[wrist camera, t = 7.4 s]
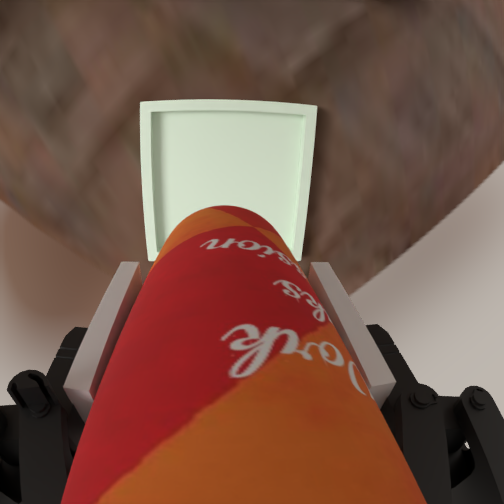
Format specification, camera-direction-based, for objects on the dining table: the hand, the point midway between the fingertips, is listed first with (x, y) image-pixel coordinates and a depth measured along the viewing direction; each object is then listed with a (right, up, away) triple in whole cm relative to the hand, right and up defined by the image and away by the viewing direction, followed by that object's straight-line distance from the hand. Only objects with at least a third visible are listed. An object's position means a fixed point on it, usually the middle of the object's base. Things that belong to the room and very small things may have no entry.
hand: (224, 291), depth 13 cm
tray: (-1, +9, +17) cm, 20 cm away
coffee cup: (0, +1, +2) cm, 3 cm away
